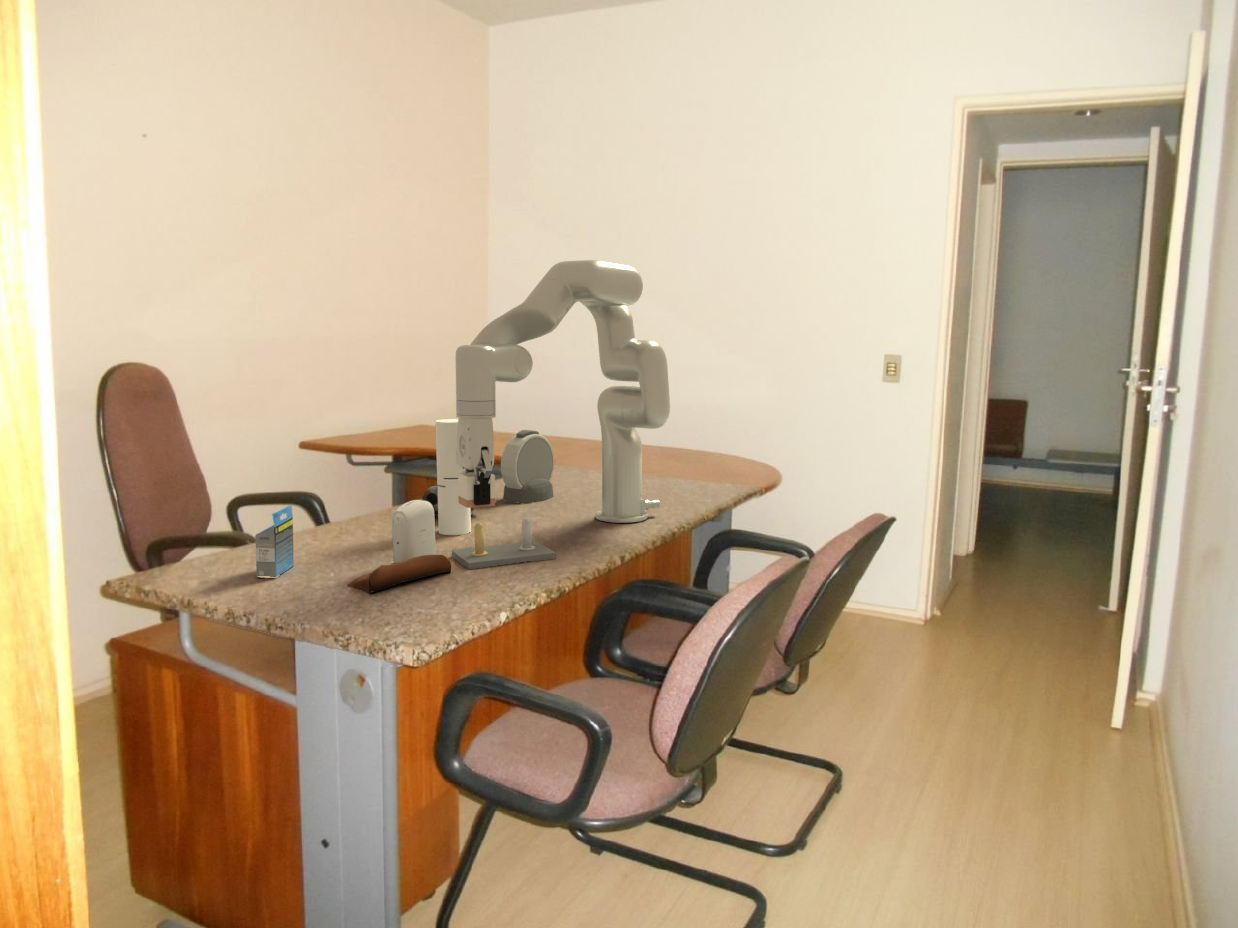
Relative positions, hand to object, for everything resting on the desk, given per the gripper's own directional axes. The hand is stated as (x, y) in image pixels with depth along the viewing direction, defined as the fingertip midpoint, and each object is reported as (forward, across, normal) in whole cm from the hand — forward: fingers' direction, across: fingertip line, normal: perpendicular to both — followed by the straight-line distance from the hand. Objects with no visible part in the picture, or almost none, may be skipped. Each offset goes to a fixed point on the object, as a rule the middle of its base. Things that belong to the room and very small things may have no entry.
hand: (476, 501), depth 180 cm
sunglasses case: (+13, +6, -17) cm, 22 cm away
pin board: (+12, 0, +6) cm, 13 cm away
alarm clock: (+11, -56, +33) cm, 66 cm away
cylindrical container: (+12, -27, +4) cm, 30 cm away
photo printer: (+12, -4, -11) cm, 17 cm away
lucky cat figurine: (+12, -44, +10) cm, 46 cm away
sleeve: (+1, 0, 0) cm, 1 cm away
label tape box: (+13, -9, -36) cm, 40 cm away
